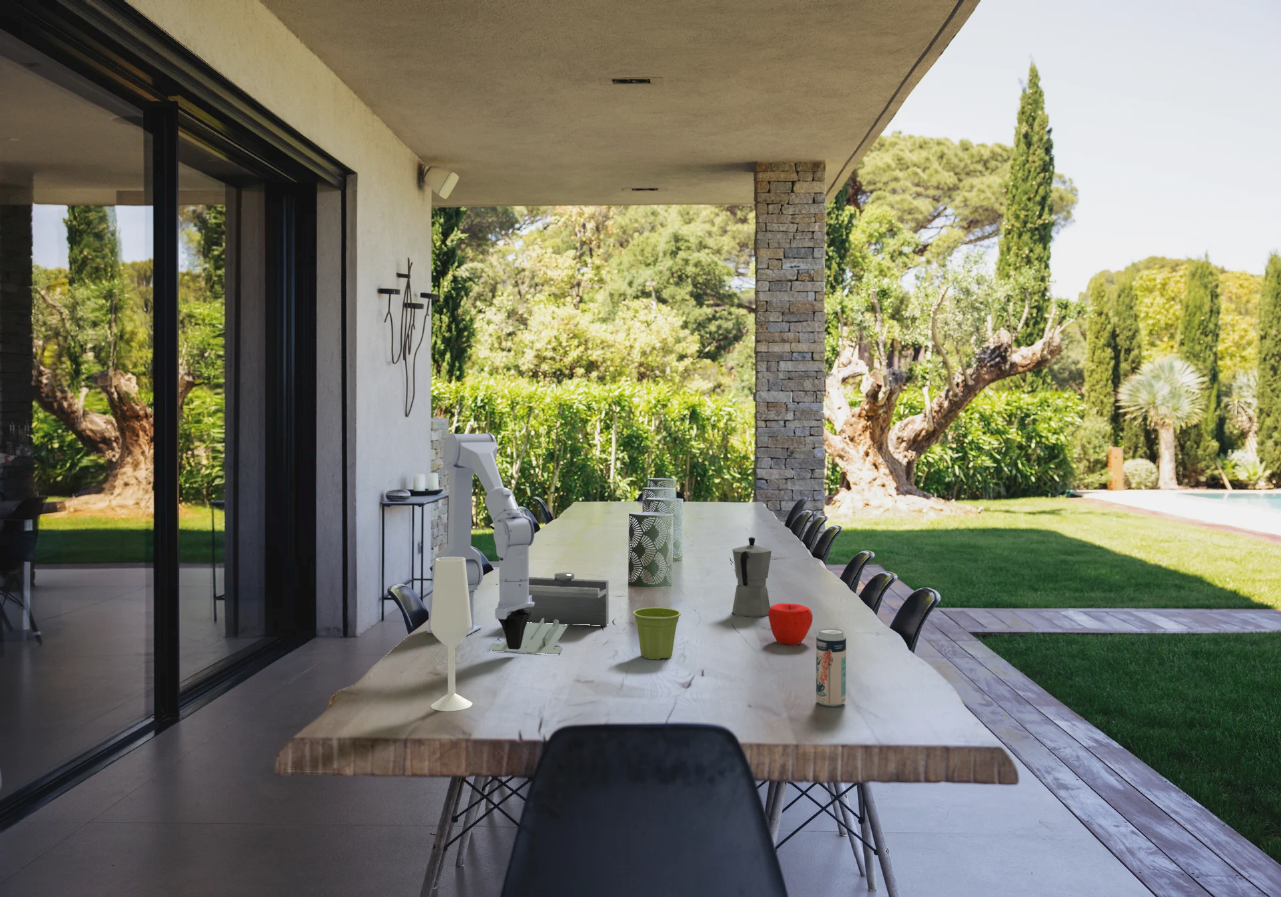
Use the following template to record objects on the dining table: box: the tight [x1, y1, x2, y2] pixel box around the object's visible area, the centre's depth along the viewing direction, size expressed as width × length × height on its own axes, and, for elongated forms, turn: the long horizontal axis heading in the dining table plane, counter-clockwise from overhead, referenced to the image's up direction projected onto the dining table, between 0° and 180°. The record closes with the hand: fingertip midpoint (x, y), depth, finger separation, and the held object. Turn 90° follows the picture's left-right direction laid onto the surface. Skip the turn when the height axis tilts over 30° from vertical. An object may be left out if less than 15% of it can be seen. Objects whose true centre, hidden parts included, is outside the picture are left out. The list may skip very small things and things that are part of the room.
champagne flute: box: [430, 557, 473, 712], centre depth 166 cm, size 7×7×24 cm
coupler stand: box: [523, 572, 610, 627], centre depth 226 cm, size 20×9×11 cm, turn 76°
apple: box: [767, 602, 814, 646], centre depth 210 cm, size 9×9×8 cm
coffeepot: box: [732, 536, 772, 618], centre depth 239 cm, size 15×9×18 cm, turn 160°
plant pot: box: [632, 607, 682, 660], centre depth 199 cm, size 9×9×9 cm
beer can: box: [815, 628, 847, 708], centre depth 167 cm, size 5×5×12 cm
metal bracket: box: [487, 618, 568, 655], centre depth 207 cm, size 14×6×15 cm
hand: (514, 648), depth 199 cm, fingers closed
